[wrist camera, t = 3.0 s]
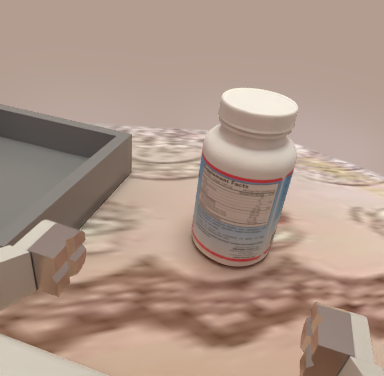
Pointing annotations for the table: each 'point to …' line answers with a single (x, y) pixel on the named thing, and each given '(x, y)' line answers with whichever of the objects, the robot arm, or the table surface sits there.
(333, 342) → the robot arm
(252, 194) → the pill bottle
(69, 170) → the tray
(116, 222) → the table surface
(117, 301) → the table surface
